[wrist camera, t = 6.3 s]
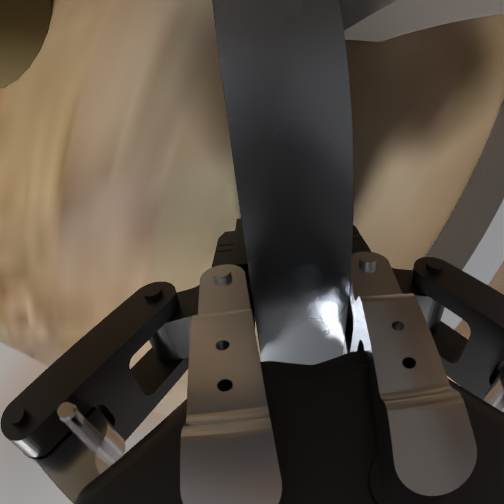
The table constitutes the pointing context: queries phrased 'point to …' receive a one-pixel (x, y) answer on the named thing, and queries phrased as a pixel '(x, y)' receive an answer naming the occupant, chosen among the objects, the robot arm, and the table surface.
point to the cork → (21, 35)
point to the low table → (408, 16)
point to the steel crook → (291, 168)
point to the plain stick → (477, 219)
